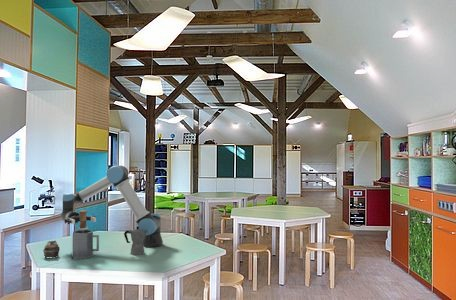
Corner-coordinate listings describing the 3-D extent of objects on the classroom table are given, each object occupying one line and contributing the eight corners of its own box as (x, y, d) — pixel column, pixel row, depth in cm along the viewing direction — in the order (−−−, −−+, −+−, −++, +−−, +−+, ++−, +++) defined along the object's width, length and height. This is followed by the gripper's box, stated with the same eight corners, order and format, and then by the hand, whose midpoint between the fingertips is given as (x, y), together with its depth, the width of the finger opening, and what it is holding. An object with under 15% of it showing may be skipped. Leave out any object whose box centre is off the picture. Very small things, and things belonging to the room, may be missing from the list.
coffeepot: (147, 251, 264) (147, 224, 264) (148, 254, 255) (148, 227, 255) (123, 252, 259) (123, 226, 260) (124, 256, 250) (124, 228, 251)
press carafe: (100, 255, 252) (100, 231, 252) (85, 260, 240) (85, 234, 240) (83, 253, 258) (83, 229, 259) (67, 257, 247) (67, 232, 247)
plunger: (92, 246, 252) (92, 210, 252) (82, 249, 244) (82, 211, 245) (83, 245, 255) (83, 209, 256) (73, 247, 248) (73, 211, 249)
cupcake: (41, 256, 250) (41, 241, 251) (57, 254, 256) (57, 239, 256) (45, 259, 243) (45, 243, 243) (61, 257, 249) (61, 241, 249)
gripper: (91, 221, 272) (103, 224, 256) (53, 224, 256) (64, 229, 240) (91, 210, 272) (103, 213, 256) (54, 213, 256) (64, 217, 240)
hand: (84, 221), depth 248 cm, fingers open, 13 cm apart
